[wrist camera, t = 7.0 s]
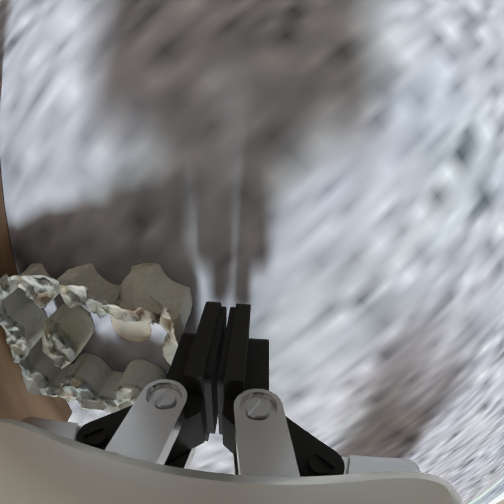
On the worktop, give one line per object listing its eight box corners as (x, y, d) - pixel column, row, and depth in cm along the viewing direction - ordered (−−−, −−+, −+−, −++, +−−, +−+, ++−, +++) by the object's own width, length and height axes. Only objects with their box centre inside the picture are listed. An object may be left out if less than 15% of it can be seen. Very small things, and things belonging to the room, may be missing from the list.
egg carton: (200, 256, 13) (175, 309, 9) (209, 384, 15) (198, 444, 12) (15, 249, 13) (-33, 282, 9) (51, 358, 16) (20, 399, 12)
